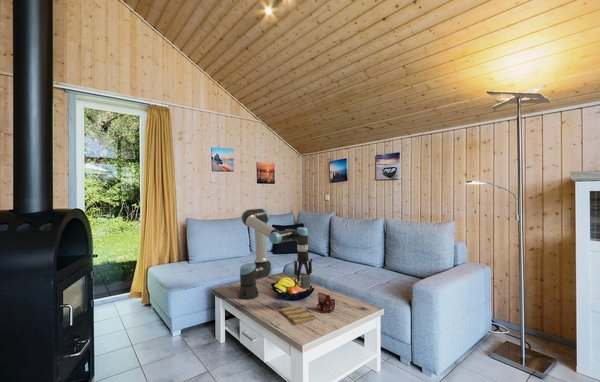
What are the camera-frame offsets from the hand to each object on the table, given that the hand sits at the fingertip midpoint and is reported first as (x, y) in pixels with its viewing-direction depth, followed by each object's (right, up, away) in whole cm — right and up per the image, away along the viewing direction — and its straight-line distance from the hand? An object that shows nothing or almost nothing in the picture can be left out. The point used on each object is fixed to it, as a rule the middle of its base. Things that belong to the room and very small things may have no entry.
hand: (303, 284), depth 197 cm
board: (-4, -15, -15) cm, 21 cm away
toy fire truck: (+14, -14, -7) cm, 22 cm away
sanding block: (0, -2, 0) cm, 2 cm away
